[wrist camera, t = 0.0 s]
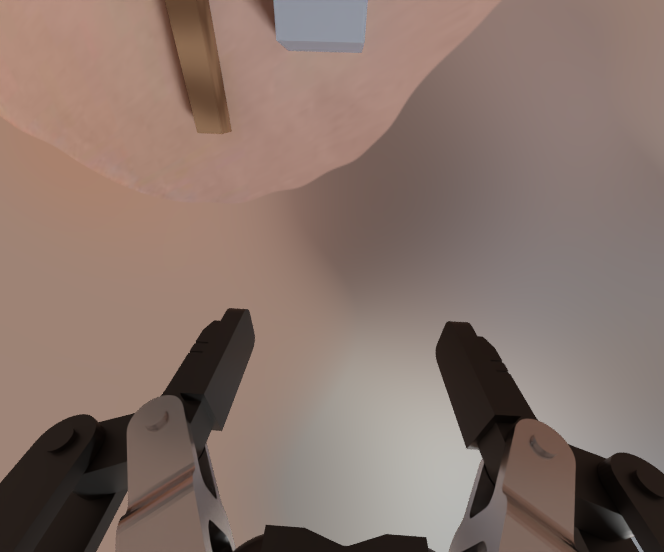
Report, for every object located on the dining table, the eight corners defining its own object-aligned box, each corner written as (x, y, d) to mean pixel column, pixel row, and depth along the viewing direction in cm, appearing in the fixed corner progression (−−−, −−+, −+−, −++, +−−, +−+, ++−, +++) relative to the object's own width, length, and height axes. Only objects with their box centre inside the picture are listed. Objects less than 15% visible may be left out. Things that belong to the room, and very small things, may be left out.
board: (137, -192, 20) (107, -233, 17) (174, -192, 20) (149, -233, 17) (208, 130, 32) (197, 132, 30) (231, 131, 32) (222, 133, 30)
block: (284, -32, 24) (268, -66, 19) (367, -31, 24) (372, -64, 19) (289, 50, 28) (276, 40, 23) (361, 52, 27) (364, 42, 23)
